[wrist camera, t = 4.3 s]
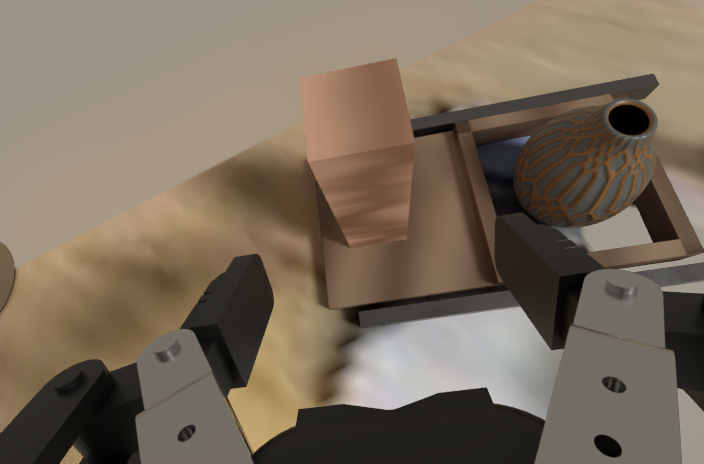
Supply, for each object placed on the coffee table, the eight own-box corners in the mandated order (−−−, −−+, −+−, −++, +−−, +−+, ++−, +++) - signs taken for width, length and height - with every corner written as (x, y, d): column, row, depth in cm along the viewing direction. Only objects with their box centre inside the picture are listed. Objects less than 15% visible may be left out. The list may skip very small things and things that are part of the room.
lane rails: (362, 328, 23) (360, 327, 22) (338, 144, 28) (335, 133, 26) (736, 276, 21) (761, 271, 20) (639, 88, 26) (653, 73, 25)
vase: (484, 174, 25) (525, 93, 17) (567, 139, 25) (648, 42, 17) (533, 254, 23) (609, 205, 15) (625, 216, 23) (751, 146, 15)
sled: (331, 310, 23) (259, 275, 11) (316, 162, 27) (250, 18, 15) (678, 260, 22) (1046, 152, 9) (608, 109, 26) (802, -105, 13)
